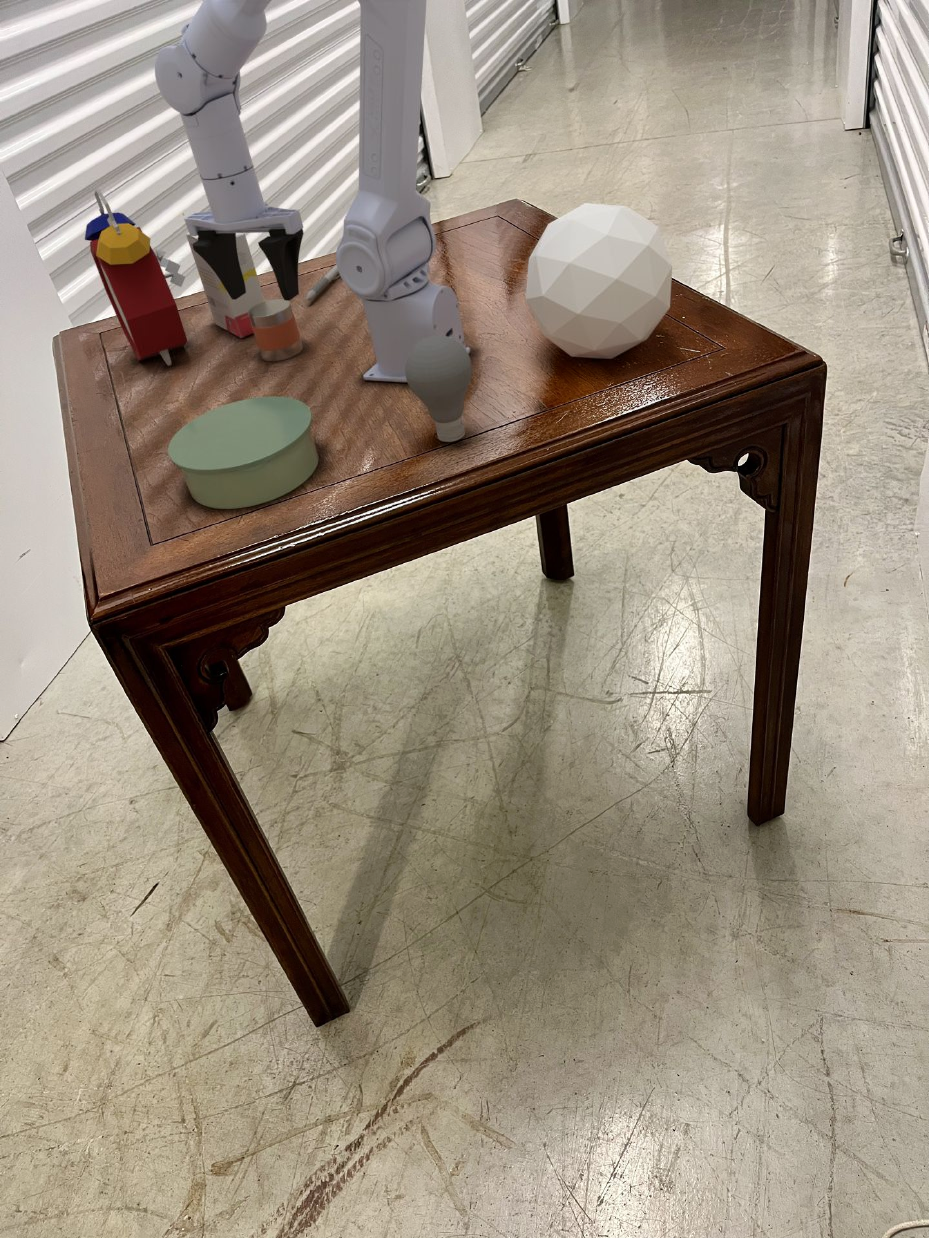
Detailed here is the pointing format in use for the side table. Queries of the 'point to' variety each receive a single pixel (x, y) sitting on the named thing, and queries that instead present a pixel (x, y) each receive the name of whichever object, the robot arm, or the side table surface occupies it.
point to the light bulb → (441, 382)
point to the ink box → (222, 306)
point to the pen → (323, 282)
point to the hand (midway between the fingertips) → (265, 296)
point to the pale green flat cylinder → (246, 452)
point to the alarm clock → (136, 283)
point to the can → (275, 330)
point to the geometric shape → (599, 280)
